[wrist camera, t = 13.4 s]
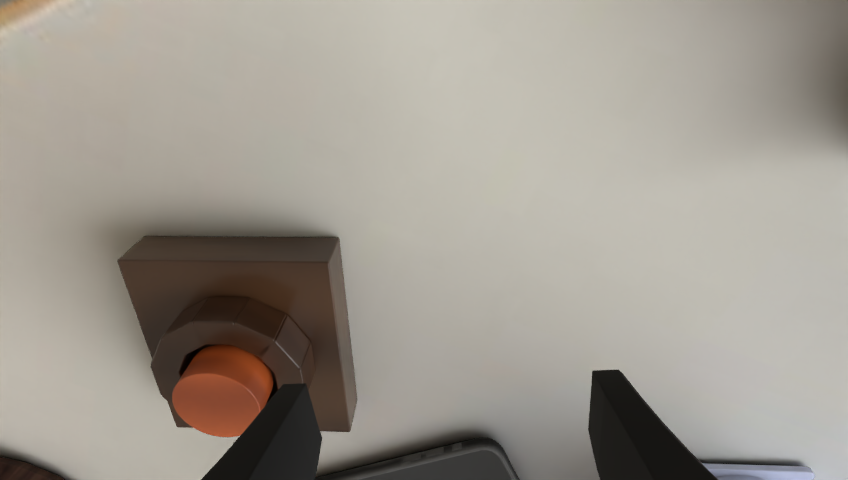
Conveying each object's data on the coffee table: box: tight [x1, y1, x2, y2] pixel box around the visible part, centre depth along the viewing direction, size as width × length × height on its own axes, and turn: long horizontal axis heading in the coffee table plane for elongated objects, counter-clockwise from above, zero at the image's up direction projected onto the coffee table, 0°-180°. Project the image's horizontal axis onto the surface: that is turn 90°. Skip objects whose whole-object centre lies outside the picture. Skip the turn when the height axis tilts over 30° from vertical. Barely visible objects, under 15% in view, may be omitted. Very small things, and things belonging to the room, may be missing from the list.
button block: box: [117, 236, 357, 432], centre depth 23 cm, size 10×9×4 cm
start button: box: [172, 345, 273, 437], centre depth 21 cm, size 4×4×2 cm
